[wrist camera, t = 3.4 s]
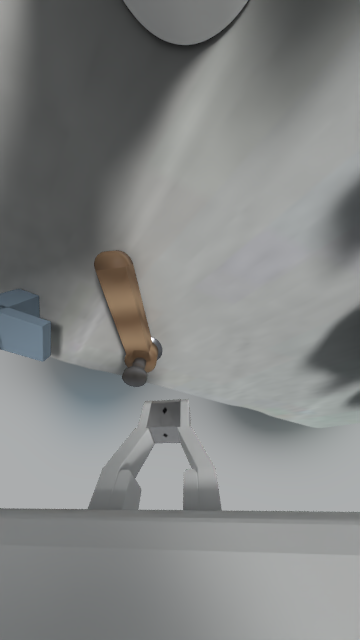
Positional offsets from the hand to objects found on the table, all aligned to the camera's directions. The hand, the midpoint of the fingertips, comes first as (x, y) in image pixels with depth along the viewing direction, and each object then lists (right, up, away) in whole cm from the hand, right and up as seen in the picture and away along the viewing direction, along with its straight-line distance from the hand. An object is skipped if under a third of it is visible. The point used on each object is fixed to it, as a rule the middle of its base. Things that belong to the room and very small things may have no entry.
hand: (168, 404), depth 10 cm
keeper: (-23, +7, +16) cm, 29 cm away
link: (-7, +6, +15) cm, 18 cm away
